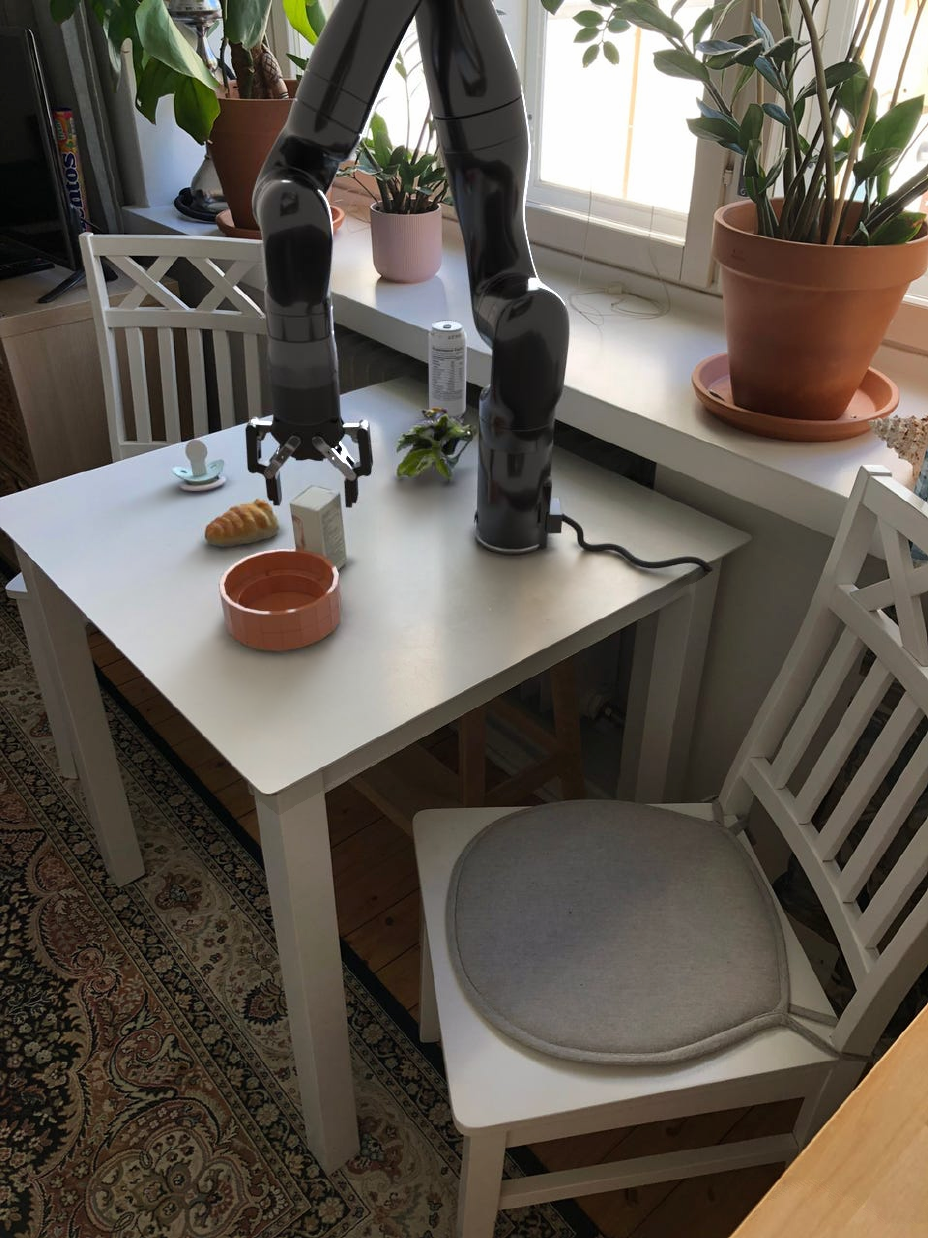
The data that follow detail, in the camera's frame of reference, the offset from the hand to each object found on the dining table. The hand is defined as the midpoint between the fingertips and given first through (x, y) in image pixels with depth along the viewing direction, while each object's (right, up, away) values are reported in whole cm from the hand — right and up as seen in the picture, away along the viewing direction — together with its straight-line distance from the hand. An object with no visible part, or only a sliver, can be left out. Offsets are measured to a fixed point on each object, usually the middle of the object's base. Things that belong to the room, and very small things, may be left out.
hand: (313, 503), depth 111 cm
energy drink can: (+15, +20, +44) cm, 50 cm away
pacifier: (-20, +6, +23) cm, 31 cm away
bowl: (-3, -14, -3) cm, 15 cm away
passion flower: (+14, +8, +27) cm, 31 cm away
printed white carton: (0, -8, +6) cm, 9 cm away
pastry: (-11, -3, +12) cm, 16 cm away
